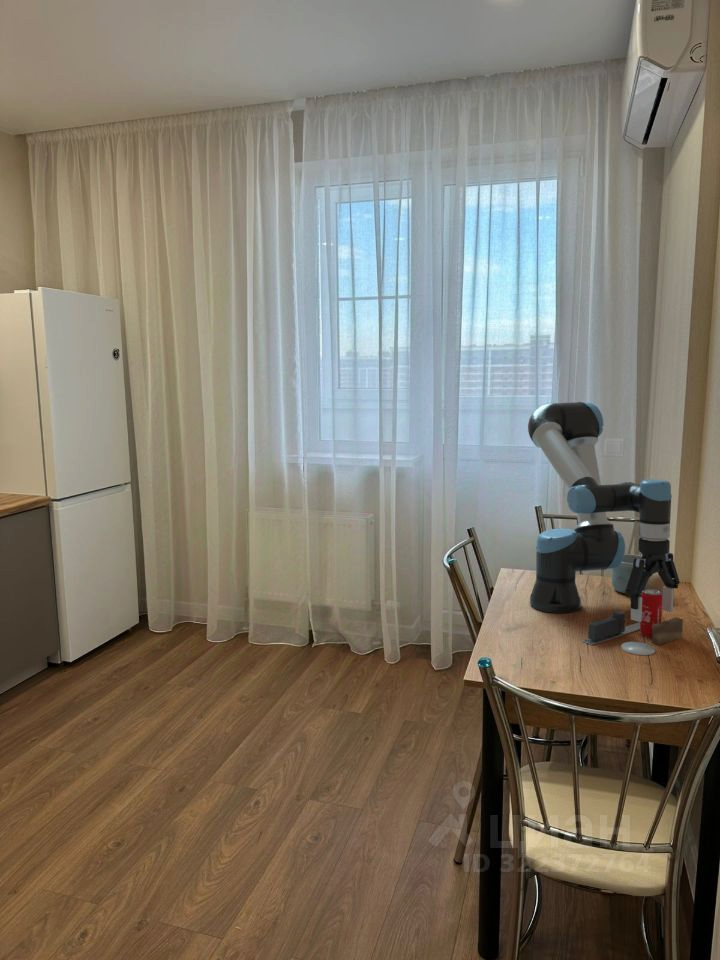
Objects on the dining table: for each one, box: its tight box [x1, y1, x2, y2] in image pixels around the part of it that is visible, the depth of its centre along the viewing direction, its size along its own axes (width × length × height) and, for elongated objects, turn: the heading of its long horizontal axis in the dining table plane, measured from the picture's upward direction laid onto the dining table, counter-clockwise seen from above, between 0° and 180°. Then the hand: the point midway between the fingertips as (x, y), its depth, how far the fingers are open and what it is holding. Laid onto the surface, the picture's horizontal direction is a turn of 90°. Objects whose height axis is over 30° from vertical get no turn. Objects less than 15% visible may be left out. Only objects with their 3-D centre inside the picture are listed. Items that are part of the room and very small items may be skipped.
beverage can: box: [640, 589, 663, 639], centre depth 179 cm, size 5×5×12 cm
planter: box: [610, 553, 645, 595], centre depth 218 cm, size 12×12×11 cm
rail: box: [581, 621, 640, 646], centre depth 181 cm, size 3×25×1 cm, turn 122°
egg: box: [645, 573, 666, 598], centre depth 209 cm, size 6×6×8 cm
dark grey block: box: [587, 610, 626, 641], centre depth 178 cm, size 3×12×5 cm, turn 122°
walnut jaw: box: [651, 617, 684, 646], centre depth 175 cm, size 2×10×5 cm, turn 122°
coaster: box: [621, 641, 656, 656], centre depth 170 cm, size 8×8×1 cm
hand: (652, 615), depth 179 cm, fingers open, 13 cm apart
